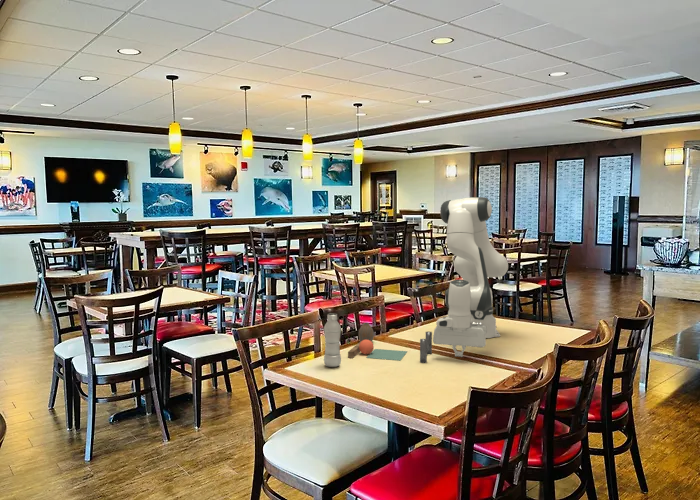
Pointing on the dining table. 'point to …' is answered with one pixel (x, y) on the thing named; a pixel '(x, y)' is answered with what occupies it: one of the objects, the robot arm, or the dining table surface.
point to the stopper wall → (354, 351)
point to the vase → (366, 332)
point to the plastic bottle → (332, 341)
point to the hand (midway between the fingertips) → (459, 356)
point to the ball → (366, 346)
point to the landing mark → (387, 354)
